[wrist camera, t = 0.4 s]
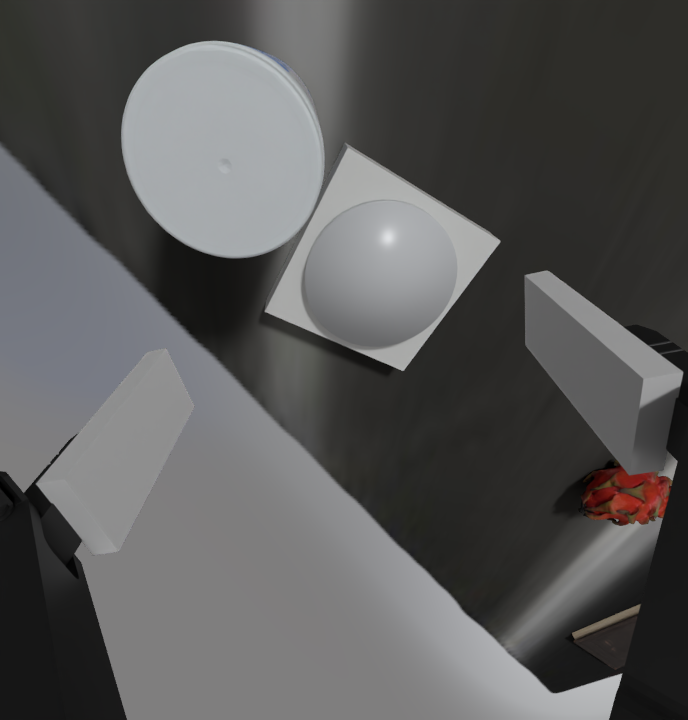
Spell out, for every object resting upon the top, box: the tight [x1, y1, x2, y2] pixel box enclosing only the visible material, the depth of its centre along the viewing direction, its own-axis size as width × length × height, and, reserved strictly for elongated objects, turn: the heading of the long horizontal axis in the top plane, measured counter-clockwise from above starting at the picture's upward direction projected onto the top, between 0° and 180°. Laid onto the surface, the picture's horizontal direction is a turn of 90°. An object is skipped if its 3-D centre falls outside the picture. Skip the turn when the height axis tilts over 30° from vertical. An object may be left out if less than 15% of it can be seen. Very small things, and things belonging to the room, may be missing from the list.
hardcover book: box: [572, 604, 641, 669], centre depth 91 cm, size 16×23×2 cm
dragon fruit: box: [578, 460, 673, 526], centre depth 57 cm, size 8×8×12 cm
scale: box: [265, 143, 501, 371], centre depth 38 cm, size 15×15×4 cm
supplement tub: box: [121, 41, 325, 258], centre depth 26 cm, size 10×10×15 cm
